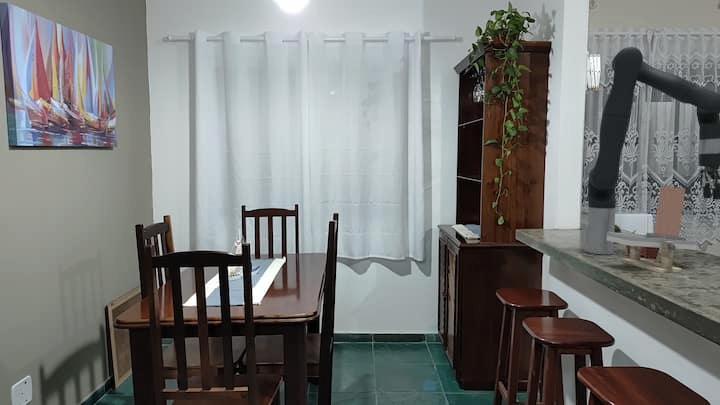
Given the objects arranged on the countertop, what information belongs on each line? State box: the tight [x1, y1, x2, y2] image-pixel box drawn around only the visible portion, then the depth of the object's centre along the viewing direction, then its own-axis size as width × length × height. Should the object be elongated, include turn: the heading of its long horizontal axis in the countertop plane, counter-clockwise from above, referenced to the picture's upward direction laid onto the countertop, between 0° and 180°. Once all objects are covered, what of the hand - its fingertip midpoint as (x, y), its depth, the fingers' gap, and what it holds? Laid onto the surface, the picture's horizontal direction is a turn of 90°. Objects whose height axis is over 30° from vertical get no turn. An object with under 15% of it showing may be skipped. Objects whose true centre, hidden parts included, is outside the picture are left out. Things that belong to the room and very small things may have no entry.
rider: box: [645, 185, 687, 241], centre depth 164 cm, size 8×8×18 cm
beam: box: [606, 232, 699, 251], centre depth 163 cm, size 26×10×3 cm, turn 103°
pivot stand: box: [620, 241, 683, 274], centre depth 163 cm, size 8×18×9 cm, turn 12°
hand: (711, 198), depth 173 cm, fingers open, 8 cm apart
